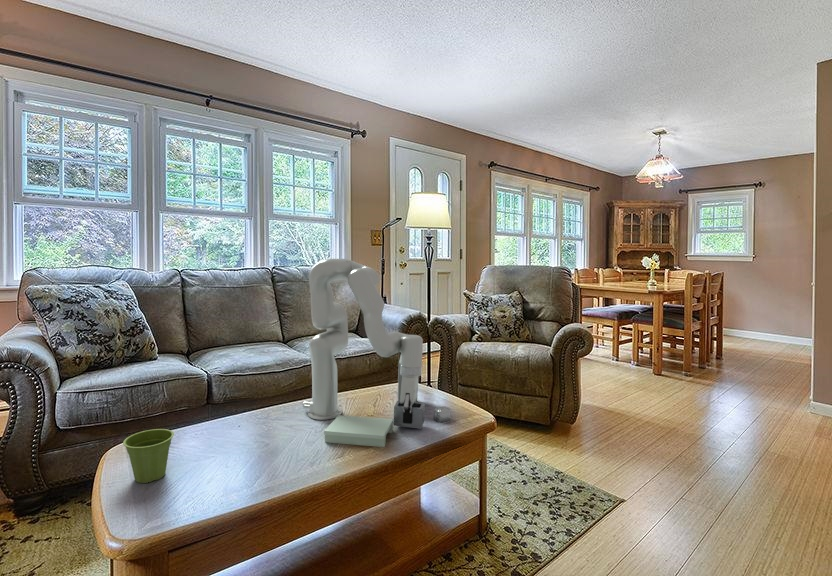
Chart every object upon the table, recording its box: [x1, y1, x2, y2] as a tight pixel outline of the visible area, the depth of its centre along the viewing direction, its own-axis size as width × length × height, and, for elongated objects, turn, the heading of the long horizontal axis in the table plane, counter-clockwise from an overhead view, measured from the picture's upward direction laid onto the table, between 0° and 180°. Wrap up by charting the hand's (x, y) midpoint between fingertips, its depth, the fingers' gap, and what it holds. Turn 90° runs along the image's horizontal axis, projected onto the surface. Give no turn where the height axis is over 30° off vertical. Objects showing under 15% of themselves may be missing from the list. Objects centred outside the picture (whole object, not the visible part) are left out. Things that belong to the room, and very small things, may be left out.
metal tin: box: [433, 406, 451, 424], centre depth 162 cm, size 6×6×4 cm
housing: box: [393, 400, 426, 429], centre depth 154 cm, size 10×6×7 cm, turn 81°
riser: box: [323, 414, 394, 448], centre depth 147 cm, size 20×14×4 cm
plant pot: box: [122, 428, 175, 484], centre depth 119 cm, size 12×12×11 cm
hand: (409, 419), depth 154 cm, fingers closed on housing, 6 cm apart
